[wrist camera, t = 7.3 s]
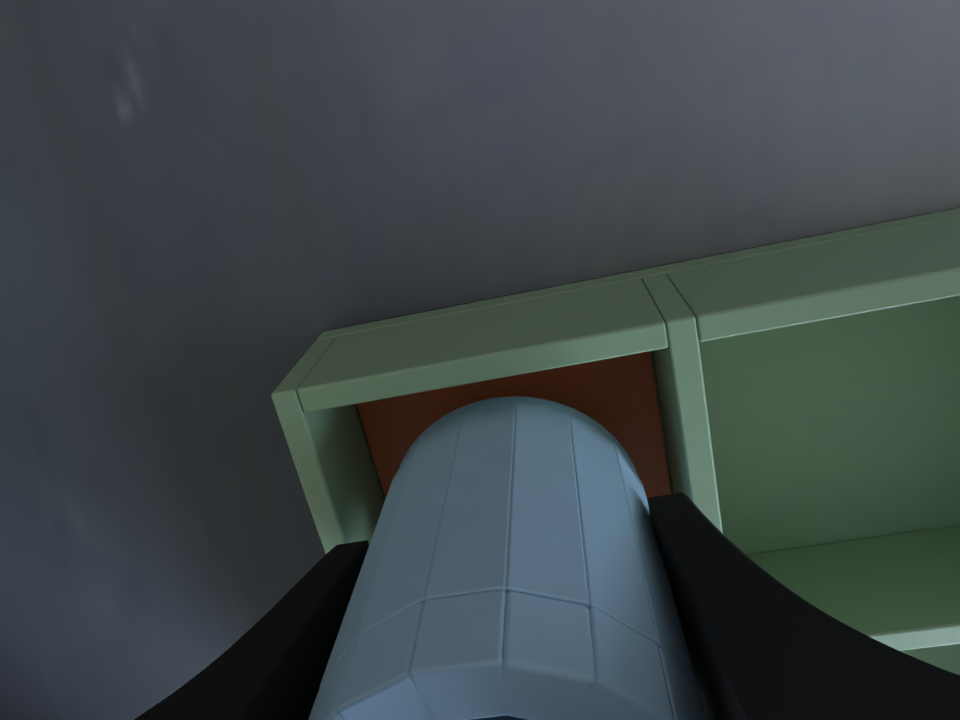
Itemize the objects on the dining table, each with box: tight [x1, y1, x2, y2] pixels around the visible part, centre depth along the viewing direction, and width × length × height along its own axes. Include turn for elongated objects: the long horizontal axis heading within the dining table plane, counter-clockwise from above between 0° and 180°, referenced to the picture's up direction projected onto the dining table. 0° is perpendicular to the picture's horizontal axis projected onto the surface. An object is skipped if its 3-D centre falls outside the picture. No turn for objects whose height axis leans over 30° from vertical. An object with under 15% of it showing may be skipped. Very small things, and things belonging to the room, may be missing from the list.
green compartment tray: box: [271, 208, 960, 675], centre depth 16 cm, size 15×15×4 cm
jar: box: [308, 396, 707, 720], centre depth 12 cm, size 5×5×7 cm
